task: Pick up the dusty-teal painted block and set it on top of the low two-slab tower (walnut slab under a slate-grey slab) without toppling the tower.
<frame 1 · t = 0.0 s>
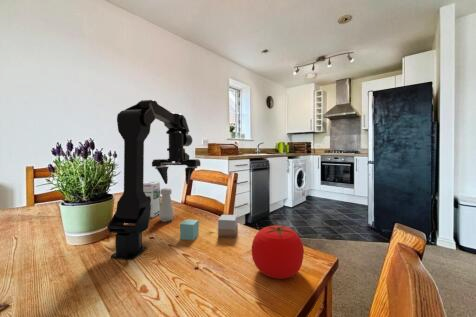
hand: (176, 184, 84), 15 cm above the table, fingers open, 9 cm apart
tower upper: (228, 226, 69), point 3 cm above the table, touching tower lower
tomato: (277, 272, 48), on the table
salt shaker: (166, 220, 84), on the table
syrup box: (151, 215, 90), on the table
teal block: (189, 237, 67), on the table
tower lower: (228, 235, 69), on the table, touching tower upper
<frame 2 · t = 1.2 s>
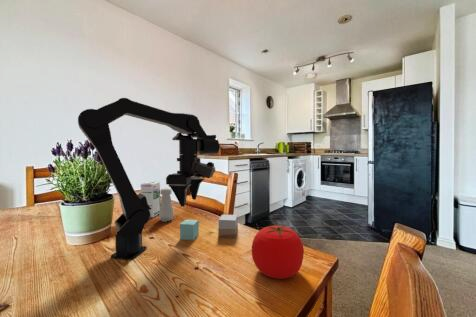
hand: (188, 202, 67), 11 cm above the table, fingers open, 9 cm apart
nothing on the table moved.
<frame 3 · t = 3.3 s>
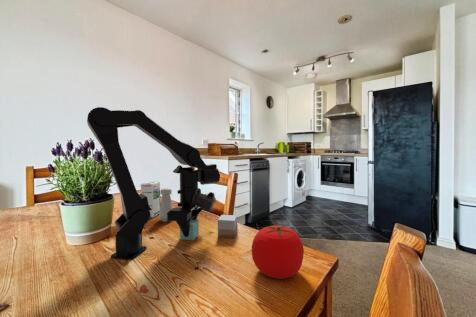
hand: (189, 233, 67), 1 cm above the table, fingers closed on teal block, 4 cm apart
tower upper: (227, 226, 69), point 3 cm above the table
teal block: (189, 236, 67), on the table, touching gripper
tower lower: (228, 235, 69), on the table
everything else where it was.
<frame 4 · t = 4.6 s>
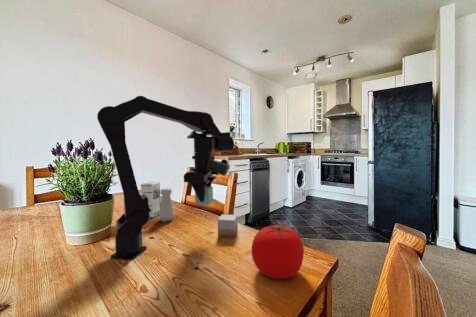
hand: (204, 199, 68), 12 cm above the table, fingers closed on teal block, 4 cm apart
tower upper: (227, 226, 69), point 3 cm above the table, touching tower lower
teal block: (204, 202, 68), point 11 cm above the table, touching gripper
tower lower: (228, 234, 69), on the table, touching tower upper
everything else where it was.
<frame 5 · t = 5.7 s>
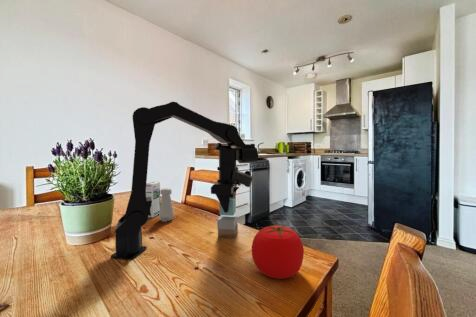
hand: (227, 210, 69), 8 cm above the table, fingers closed on teal block, 4 cm apart
teal block: (227, 213, 69), point 7 cm above the table, touching gripper
everything else where it was.
when the fingers open (8 cm above the table, at t = 6.4 s): teal block drops 1 cm, resting on tower upper.
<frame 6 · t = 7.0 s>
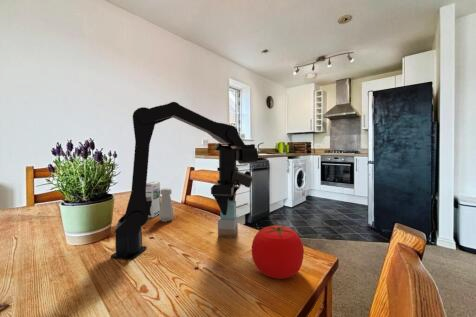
hand: (227, 210, 69), 8 cm above the table, fingers open, 9 cm apart
tower upper: (228, 226, 69), point 3 cm above the table, touching teal block, tower lower
teal block: (228, 217, 69), point 6 cm above the table, touching tower upper
everything else where it was.
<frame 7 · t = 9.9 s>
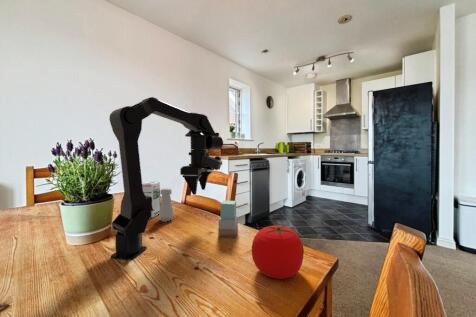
hand: (199, 191, 76), 13 cm above the table, fingers open, 9 cm apart
nothing on the table moved.
at the end: teal block 0.2 cm off-centre on the tower upper, point 3.0 cm above the tower upper's base; teal block tilted 0°; tower lower moved 0.2 cm from its start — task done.
